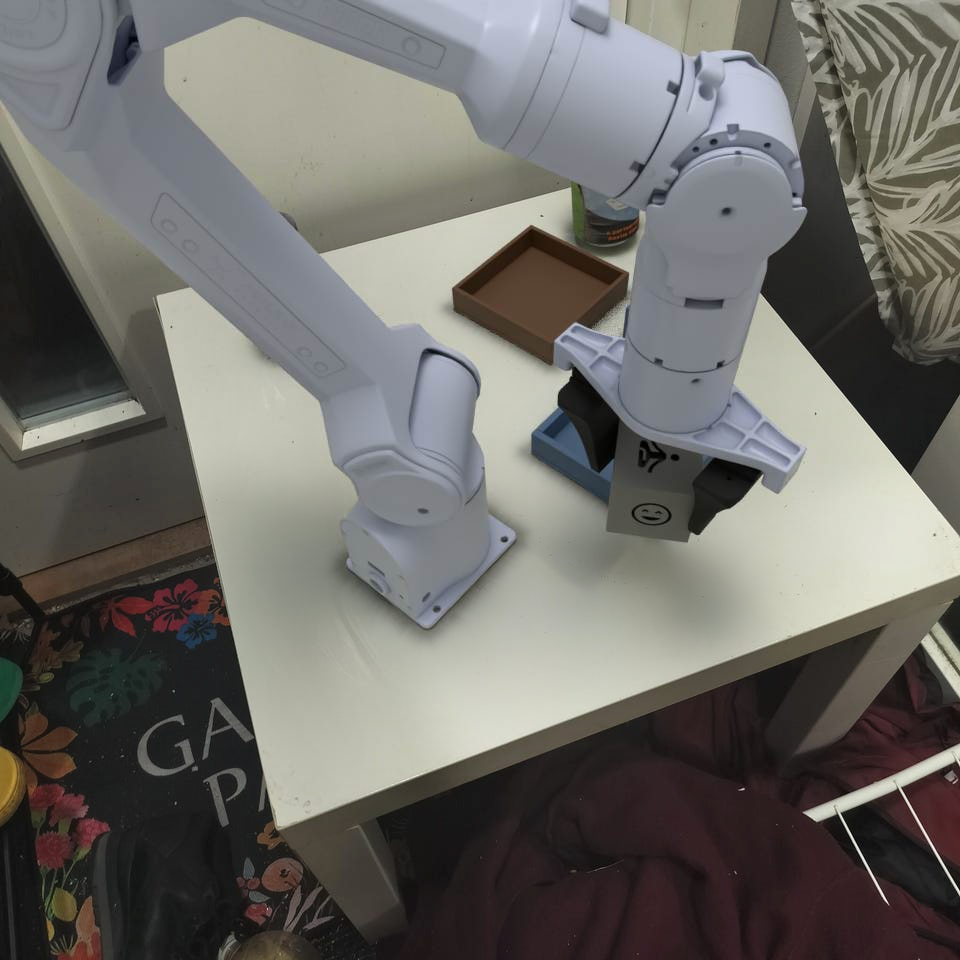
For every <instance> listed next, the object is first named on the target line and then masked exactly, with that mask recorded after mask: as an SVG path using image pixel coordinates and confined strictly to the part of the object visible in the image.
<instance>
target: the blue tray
mask: <svg viewBox="0 0 960 960" xmlns="http://www.w3.org/2000/svg"><path fill="white" fill-rule="evenodd" d="M530 451H531V452H530V454H531V455H532V456H534V457H535V458H537V459H538V460H540V461H541V462H543V463H544V464H546V465H548V466H550V467H551V468H552V469H554V470H555V471H558V472H559V473H561V474H562V475H563V476H565V477H567V478H569V479H570V480H571V481H573V482H575V483H576V484H578V485H579V486H581V487H582V488H584V489H586V490H587V491H589V492H591V493H593V494H594V495H595V496H597V497H598V498H600V499H602V500H603V501H605V502H606V503H608V504H609V497H610V489H611V480H612V472H613V464H614V459H613V460H612V461H611V462H610V463H609V464H608V465H607V466H606V467H605V468H604V469H603V470H602V471H601V472H600V473H599V474H598V473H597V472H595V471H594V470H592V469H591V467H590V464H589V461H588V458H587V454H586V451H585V448H584V446H583V443H582V440H581V438H580V436H579V434H578V432H577V430H576V428H575V426H574V425H573V423H572V422H571V420H570V419H569V418H568V416H567V415H566V414H565V413H564V412H563V411H562V410H561V409H560V408H559V407H558V406H557V408H556V409H554V410H553V412H552V413H551V414H549V415H548V416H547V417H546V418H545V420H543V421H542V422H541V423H540V424H539V425H538V426H537V427H536V428H535V429H534V430H533V431H532V432H531V434H530ZM714 458H715V457H712V456H708V455H704V454H703V469H704V468H705V467H706V466H707V465H708V464H709V463H710V461H711V460H712V459H714Z"/></svg>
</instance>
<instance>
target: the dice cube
mask: <svg viewBox="0 0 960 960" xmlns="http://www.w3.org/2000/svg"><path fill="white" fill-rule="evenodd" d="M702 470H703V454H700V453H696V452H693V451H689V450H685V449H681V448H677V447H673V446H670V445H666V444H662V443H658V442H655V441H652V440H649V439H647V438H644V437H642V436H640V435H639V434H637V433H635V432H634V431H633V430H631V429H630V428H629V427H628V426H627V425H626V424H625V423H624V422H623V421H622V420H621V418H620V421H619V428H618V435H617V443H616V450H615V457H614V464H613V472H612V480H611V489H610V497H609V503H608V506H607V515H606V516H607V517H606V523H605V533H611V534H616V535H617V534H618V535H624V536H633V537H640V538H648V539H656V540H662V541H663V540H664V541H671V542H677V543H678V542H679V543H686V544H688V543H689V540H690V536H691V534H692V532H690V531H689V530H688V523H689V520H690V517H691V515H692V512H693V509H694V503H695V493H694V489H693V486H692V484H693V481H694V479H695V478H696V477H697V476H698V475H699V474H700V473H701V472H702Z"/></svg>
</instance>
